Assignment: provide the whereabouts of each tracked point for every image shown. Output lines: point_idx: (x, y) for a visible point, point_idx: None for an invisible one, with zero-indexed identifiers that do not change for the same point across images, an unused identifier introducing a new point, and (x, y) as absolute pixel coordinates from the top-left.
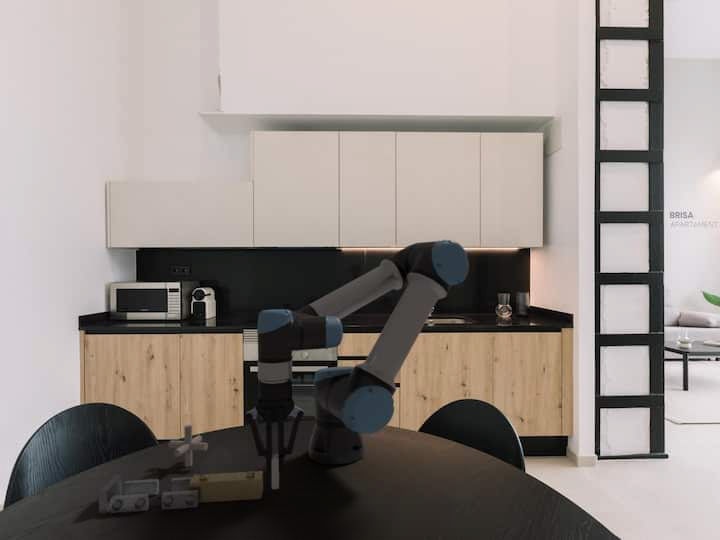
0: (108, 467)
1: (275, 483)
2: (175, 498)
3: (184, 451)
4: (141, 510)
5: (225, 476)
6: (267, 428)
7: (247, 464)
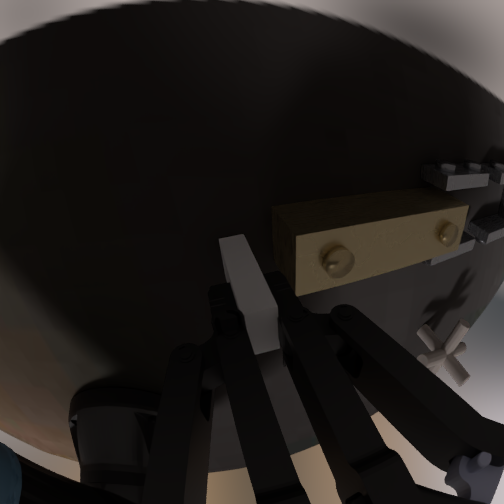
0: (490, 295)
1: (233, 246)
2: (468, 170)
3: (452, 335)
4: (485, 163)
5: (404, 246)
6: (378, 449)
7: None
